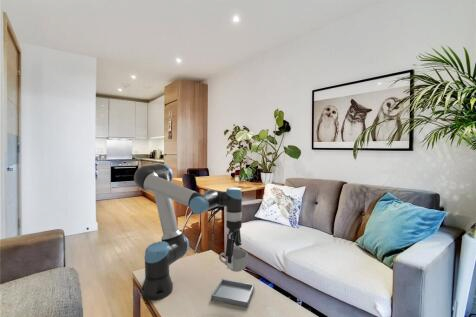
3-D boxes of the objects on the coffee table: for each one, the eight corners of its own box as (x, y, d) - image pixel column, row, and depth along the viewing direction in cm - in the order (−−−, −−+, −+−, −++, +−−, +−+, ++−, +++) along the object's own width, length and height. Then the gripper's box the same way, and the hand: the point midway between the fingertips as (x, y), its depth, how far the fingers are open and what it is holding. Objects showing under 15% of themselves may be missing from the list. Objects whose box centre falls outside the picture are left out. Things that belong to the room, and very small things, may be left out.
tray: (211, 300, 115) (211, 295, 115) (221, 283, 130) (221, 278, 130) (247, 307, 110) (247, 302, 110) (254, 289, 125) (254, 284, 125)
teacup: (248, 264, 123) (249, 249, 123) (245, 275, 112) (245, 259, 112) (222, 261, 126) (222, 246, 125) (216, 272, 115) (216, 256, 115)
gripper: (234, 228, 106) (234, 276, 107) (247, 213, 128) (246, 254, 129) (218, 226, 108) (218, 273, 109) (233, 212, 130) (233, 252, 131)
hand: (233, 263), depth 119 cm, fingers closed on teacup, 11 cm apart
